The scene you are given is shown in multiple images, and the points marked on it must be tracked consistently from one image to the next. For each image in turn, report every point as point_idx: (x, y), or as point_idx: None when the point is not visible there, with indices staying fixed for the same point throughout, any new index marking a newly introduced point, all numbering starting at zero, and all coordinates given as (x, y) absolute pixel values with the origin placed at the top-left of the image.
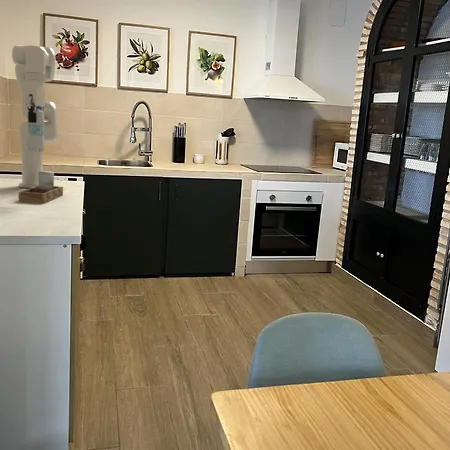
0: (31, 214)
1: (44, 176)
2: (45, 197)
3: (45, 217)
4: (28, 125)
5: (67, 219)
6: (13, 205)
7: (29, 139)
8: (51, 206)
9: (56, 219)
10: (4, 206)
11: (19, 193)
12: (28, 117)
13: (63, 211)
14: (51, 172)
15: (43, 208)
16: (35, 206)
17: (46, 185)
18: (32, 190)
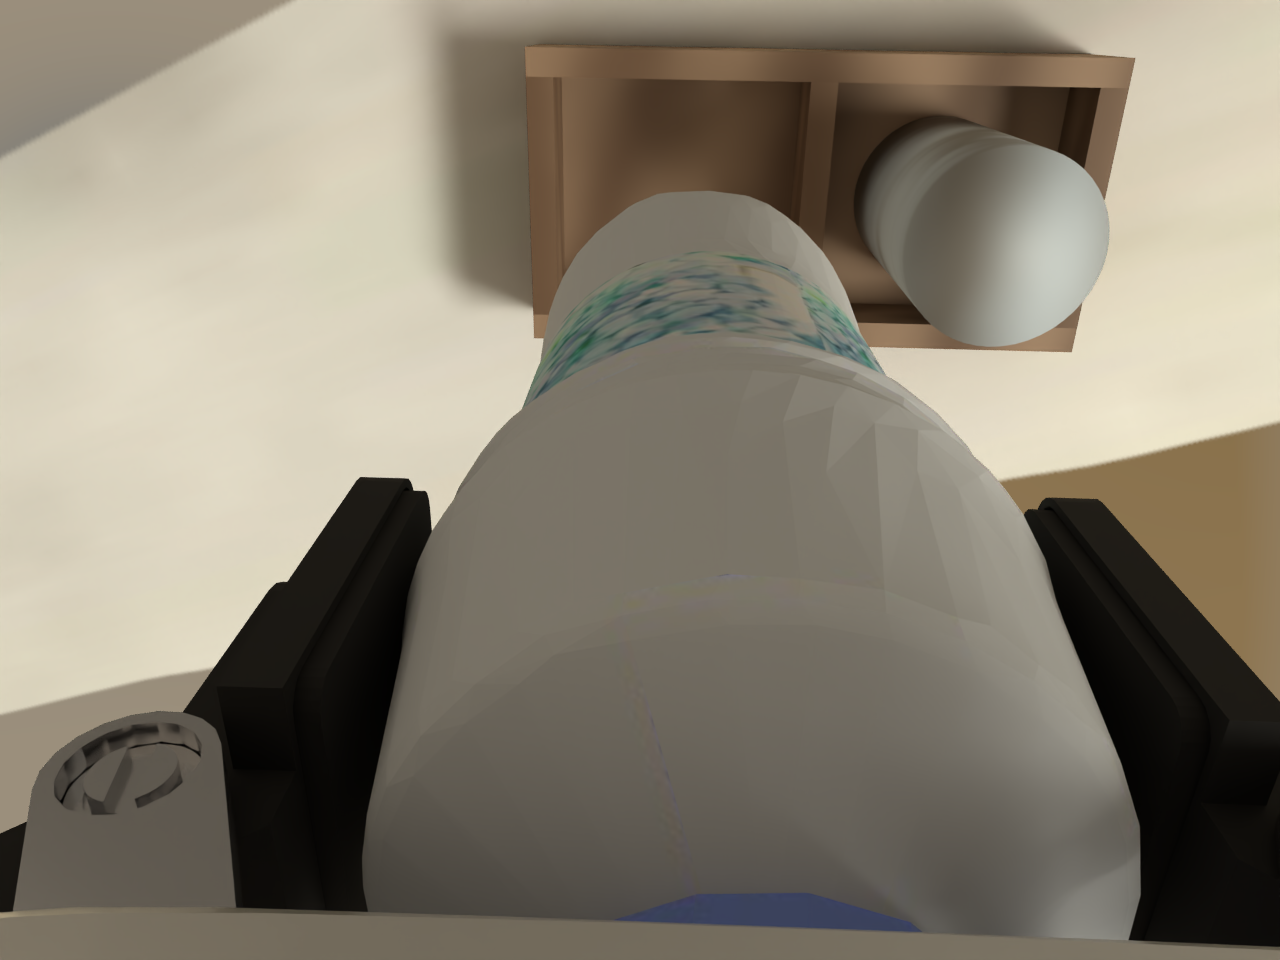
0: (77, 373)
1: (893, 250)
2: None
3: (44, 494)
4: (613, 345)
5: (73, 632)
6: (332, 84)
7: (569, 290)
8: (446, 404)
9: (32, 574)
10: (247, 25)
11: (527, 58)
12: (313, 561)
13: (303, 541)
14: (988, 323)
15: (336, 375)
16: (384, 286)
17: (877, 248)
18: (807, 97)
